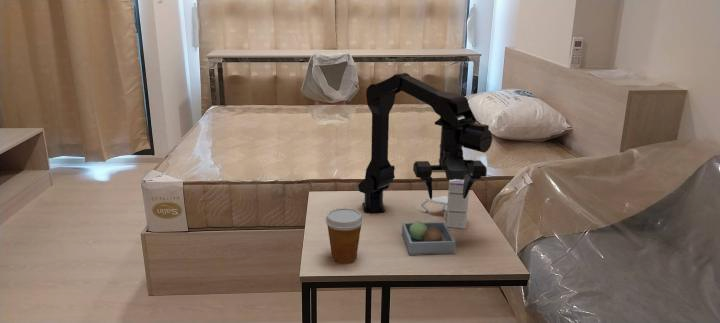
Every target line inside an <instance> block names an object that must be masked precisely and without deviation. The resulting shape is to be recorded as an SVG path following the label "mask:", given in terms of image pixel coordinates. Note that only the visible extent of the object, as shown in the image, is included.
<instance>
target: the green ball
mask: <svg viewBox="0 0 720 323" xmlns="http://www.w3.org/2000/svg"><path fill="white" fill-rule="evenodd" d="M412 223H413V224H412V225H411V226H410V229H409V232H410V235H411V237H412V238H414V239H416V240H422V239H424V233H425V231H426V230H427V226H426V225H425V224H424V223H422V221H414V222H412Z"/></svg>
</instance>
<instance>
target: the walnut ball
mask: <svg viewBox="0 0 720 323" xmlns="http://www.w3.org/2000/svg"><path fill="white" fill-rule="evenodd" d="M424 241H425V242H434V241H442V233H441V232H440V230H438V229H437V228H429V229H427V230H426V231H425V233H424Z"/></svg>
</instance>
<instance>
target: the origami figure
mask: <svg viewBox="0 0 720 323" xmlns="http://www.w3.org/2000/svg"><path fill="white" fill-rule="evenodd" d="M428 202H429V203H433V204H439V205H443V206H442V210H444V213H443V217H444V219H447V208H448V195H445V196H437V197H432V199H430V197H428V198H426V199H425V200H424V201H423V202H421V203H420V206H421V207H422V208H423V209H424V210H425V213H428V212H429V210H428V209H427V208H426V207H425V206H424V205H425V204H427V203H428Z"/></svg>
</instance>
